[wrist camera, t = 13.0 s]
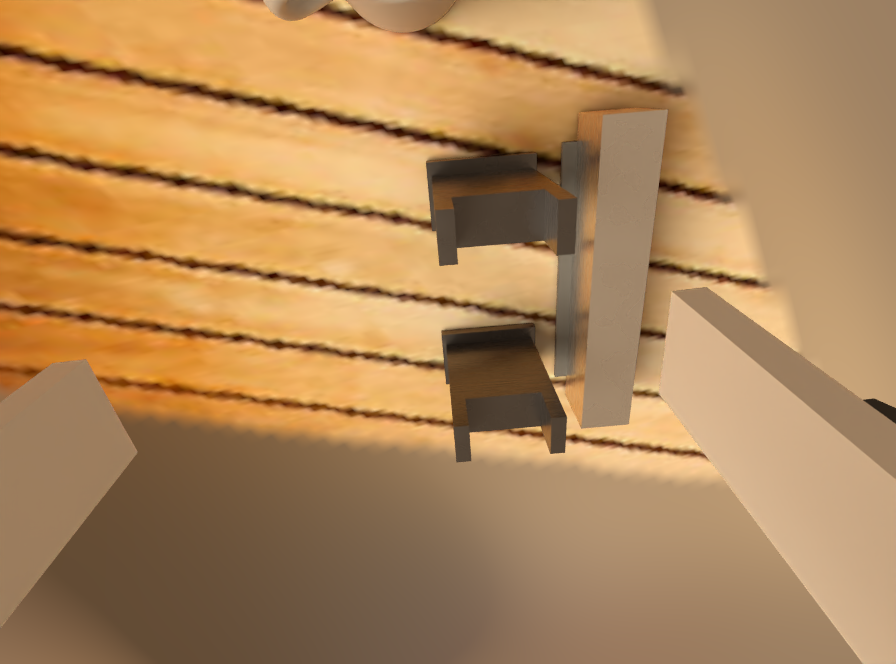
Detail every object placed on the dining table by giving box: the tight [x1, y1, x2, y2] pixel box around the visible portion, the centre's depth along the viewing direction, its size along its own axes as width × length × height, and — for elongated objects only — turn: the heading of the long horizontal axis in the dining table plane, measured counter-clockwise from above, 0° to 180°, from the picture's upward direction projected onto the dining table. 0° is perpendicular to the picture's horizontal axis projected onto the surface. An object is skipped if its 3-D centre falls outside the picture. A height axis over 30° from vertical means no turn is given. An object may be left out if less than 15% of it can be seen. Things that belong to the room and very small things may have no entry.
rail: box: [565, 108, 668, 428], centre depth 36 cm, size 24×4×5 cm, turn 4°
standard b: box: [442, 323, 567, 462], centre depth 36 cm, size 5×8×12 cm, turn 94°
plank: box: [554, 141, 577, 377], centre depth 39 cm, size 20×6×1 cm, turn 4°
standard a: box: [426, 152, 578, 266], centre depth 30 cm, size 5×8×12 cm, turn 94°
